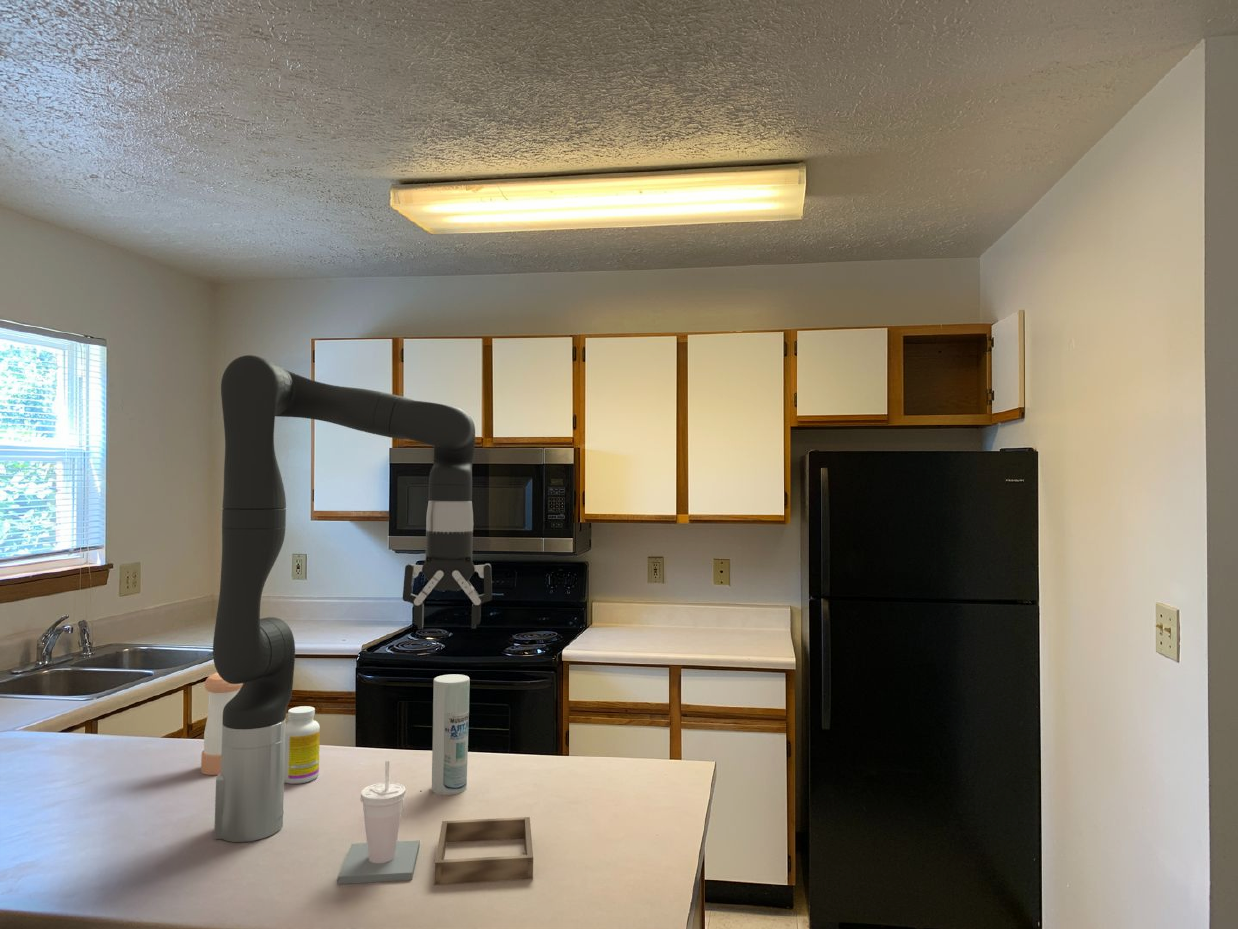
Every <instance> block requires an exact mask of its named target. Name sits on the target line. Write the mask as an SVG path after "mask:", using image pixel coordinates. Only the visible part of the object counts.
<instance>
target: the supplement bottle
mask: <svg viewBox="0 0 1238 929" xmlns="http://www.w3.org/2000/svg"><path fill="white" fill-rule="evenodd" d="M315 713H316V709H315V707H313V706H310V705H309V706H307V705H303V706H301V705H300V706H295V707H292V708H290V709H288V711H287V718H288V722H287V723H286V731H285V767H284V784H290V785H298V784H305V783H309V782H311V781H313V780H315V779H316V778H318V777H319V774H320V737H321V736H320V735H321V731H320V730H321V727H320V723H319V722H318V721H317V720H314V718H315V715H316V714H315Z"/></svg>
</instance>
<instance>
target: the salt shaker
mask: <svg viewBox="0 0 1238 929" xmlns="http://www.w3.org/2000/svg"><path fill="white" fill-rule="evenodd" d="M242 685H243V683H241V684H230V683H228V682H226V681H224V680H223V679H222V678H221V677H220V676H219V674H218V672H217V671H216V672H215V673H213V674H211V675H209V676H208V677H207V678H206V679H205V682H204V688H205V690H206V692H208V708H207V711H208V712H207V718H206V722H205V727H204V733H203V750H202V752H201V759H200V760H201V761H200V762H201V763H200V772H201V774H204V775H206V776H207V775H209V776H210V775H211V776H218V775H219V774H220V773H221V755H222V721H223V709H224V707H225V705H226V704H227V703H228V702H229V701H230V700H231V699H232V698H233V697H234V696H235V695H236V694H237V693H238V692H239V690H240V689H241V687H242Z"/></svg>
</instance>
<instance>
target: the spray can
mask: <svg viewBox="0 0 1238 929" xmlns="http://www.w3.org/2000/svg"><path fill="white" fill-rule="evenodd" d="M470 681H471V679H470V677H469V676H468V675H465V674H458V673H457V674H454V673H453V674H443V675H439V676H436V677H434V678H433V689H432V690H433V694H432V695H433V696H432V697H433V699H432V701H433V702H432V749H431V750H432V751H431V752H432V753H431V754H432V756H431V758H432V759H431V760H432V761H431V766H432V767H431V789H432V792H433V793H434V794H436V795H441V796H452V795H457V794H460V793H462V792H465V790H467V784H468V755H469V754H468V753H469V752H468V751H469V747H468V746H469V725H470V724H469V720H470V719H469V717H470V687H471V686H470V684H471V683H470Z"/></svg>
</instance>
